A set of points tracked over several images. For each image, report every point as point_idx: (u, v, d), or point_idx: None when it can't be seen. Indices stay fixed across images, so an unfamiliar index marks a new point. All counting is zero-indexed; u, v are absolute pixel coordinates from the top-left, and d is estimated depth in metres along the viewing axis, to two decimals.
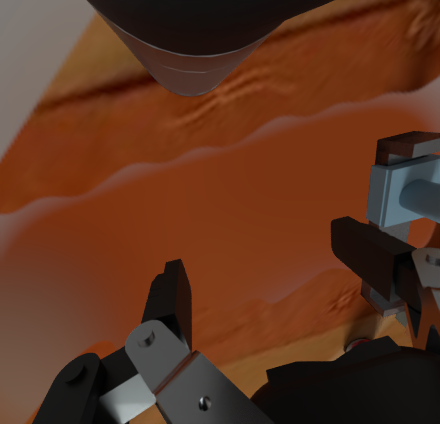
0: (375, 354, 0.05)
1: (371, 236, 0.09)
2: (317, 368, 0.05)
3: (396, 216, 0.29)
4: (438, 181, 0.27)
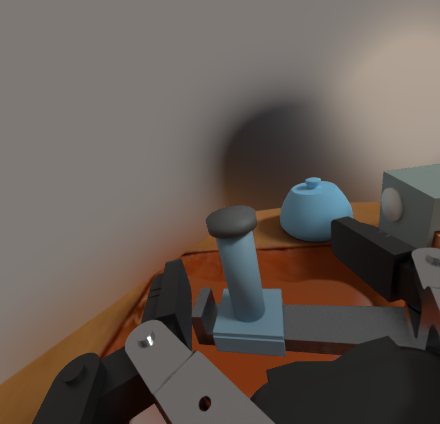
0: (375, 354, 0.05)
1: (371, 236, 0.09)
2: (317, 368, 0.05)
3: (271, 323, 0.25)
4: None
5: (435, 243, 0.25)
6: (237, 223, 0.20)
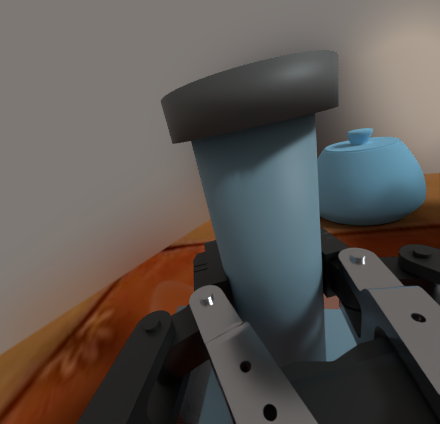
0: (375, 354, 0.05)
1: None
2: (317, 368, 0.05)
3: None
4: None
5: None
6: (281, 60, 0.05)
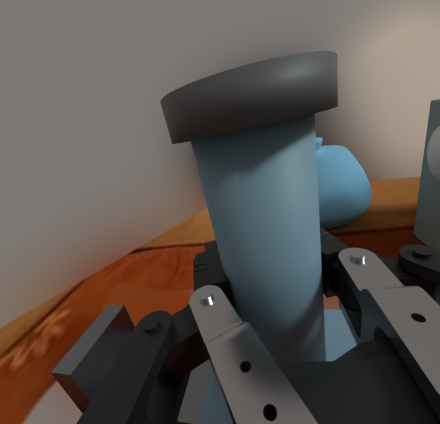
0: (375, 354, 0.05)
1: None
2: (317, 367, 0.05)
3: None
4: None
5: None
6: (280, 60, 0.05)
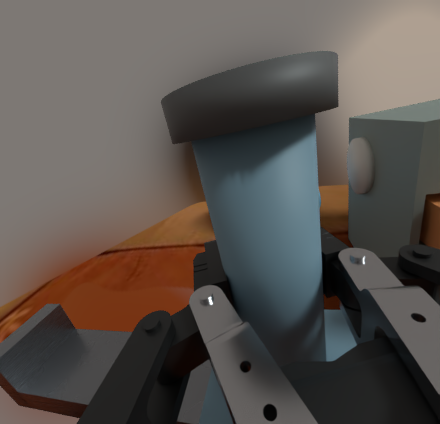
0: (375, 354, 0.05)
1: None
2: (317, 368, 0.05)
3: None
4: None
5: (429, 221, 0.13)
6: (281, 60, 0.05)
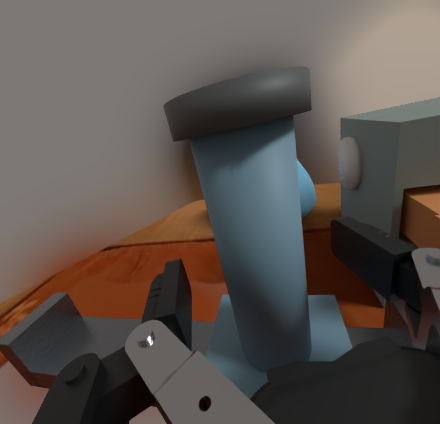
0: (375, 354, 0.05)
1: (371, 236, 0.09)
2: (317, 368, 0.05)
3: None
4: None
5: (408, 213, 0.14)
6: (260, 74, 0.06)
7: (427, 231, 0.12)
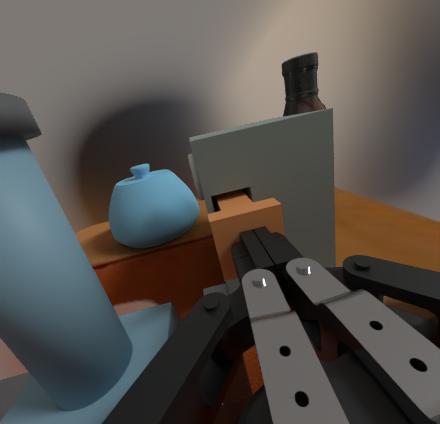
0: None
1: (270, 246, 0.10)
2: None
3: None
4: None
5: None
6: None
7: None
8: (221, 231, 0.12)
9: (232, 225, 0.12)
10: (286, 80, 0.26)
